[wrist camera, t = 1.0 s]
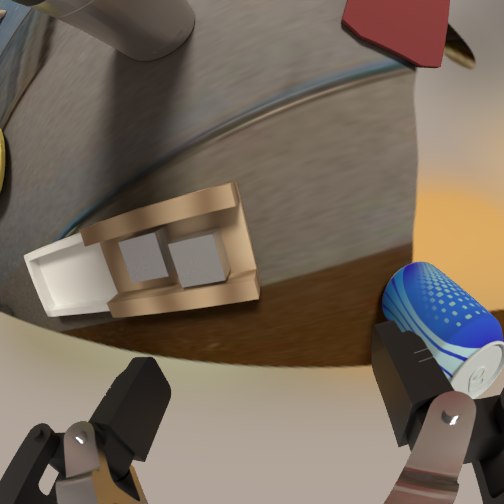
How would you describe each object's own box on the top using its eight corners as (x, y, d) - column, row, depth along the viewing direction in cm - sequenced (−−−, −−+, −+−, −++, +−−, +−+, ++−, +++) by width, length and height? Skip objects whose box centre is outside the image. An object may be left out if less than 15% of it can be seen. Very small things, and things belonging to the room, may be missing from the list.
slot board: (236, 180, 27) (230, 183, 23) (261, 281, 30) (258, 298, 26) (99, 221, 29) (79, 229, 25) (128, 302, 32) (113, 318, 29)
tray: (100, 225, 29) (85, 231, 27) (126, 299, 32) (115, 310, 29) (36, 249, 32) (23, 255, 29) (59, 308, 35) (48, 316, 32)
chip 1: (166, 225, 27) (154, 232, 25) (178, 265, 29) (168, 276, 26) (131, 234, 28) (118, 242, 25) (144, 272, 29) (132, 282, 26)
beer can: (368, 316, 30) (416, 418, 15) (392, 251, 27) (474, 330, 12) (421, 323, 30) (479, 408, 15) (445, 264, 27) (528, 332, 12)
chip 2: (219, 226, 27) (212, 234, 24) (230, 268, 28) (225, 280, 25) (178, 236, 28) (167, 244, 25) (190, 275, 29) (182, 287, 26)
